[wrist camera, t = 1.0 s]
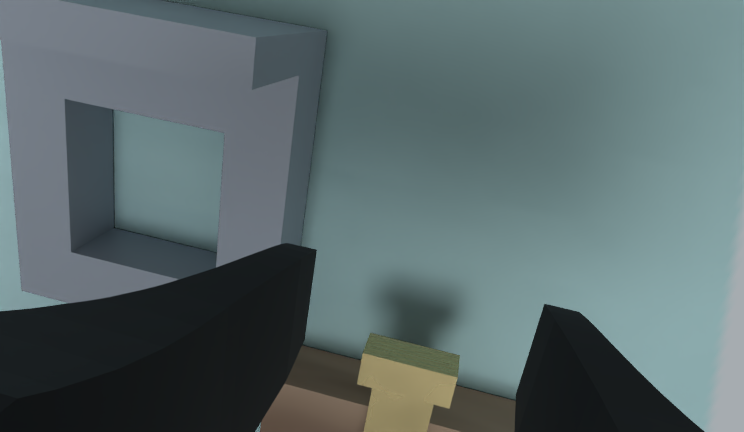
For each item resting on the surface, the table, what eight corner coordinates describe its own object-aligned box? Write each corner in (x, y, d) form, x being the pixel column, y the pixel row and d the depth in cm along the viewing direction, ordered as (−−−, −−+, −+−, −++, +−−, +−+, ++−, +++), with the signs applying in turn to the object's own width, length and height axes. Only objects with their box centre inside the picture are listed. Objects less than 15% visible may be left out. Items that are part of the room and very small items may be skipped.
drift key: (423, 495, 20) (419, 523, 19) (344, 472, 21) (335, 498, 20) (459, 355, 18) (457, 377, 17) (370, 332, 19) (362, 353, 17)
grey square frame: (291, 321, 22) (225, 421, 17) (67, 263, 24) (-63, 339, 18) (327, 30, 18) (255, 37, 13) (54, -20, 20) (-119, -34, 14)
